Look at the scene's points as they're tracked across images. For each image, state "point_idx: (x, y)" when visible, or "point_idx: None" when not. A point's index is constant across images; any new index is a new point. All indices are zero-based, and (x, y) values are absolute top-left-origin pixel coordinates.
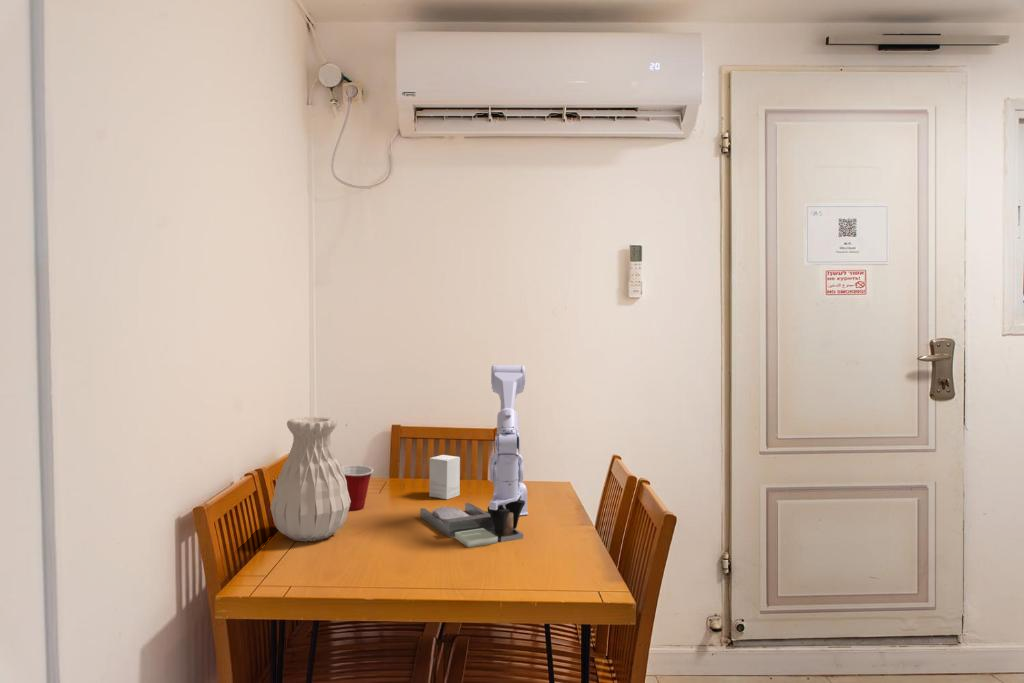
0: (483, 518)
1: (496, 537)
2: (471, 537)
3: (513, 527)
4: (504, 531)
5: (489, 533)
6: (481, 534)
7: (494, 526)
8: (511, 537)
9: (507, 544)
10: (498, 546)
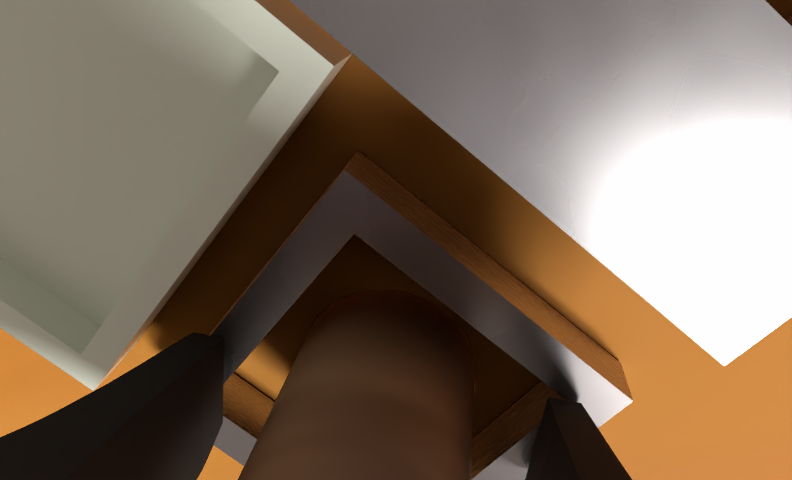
0: (368, 61)
1: (80, 377)
2: (4, 11)
3: (530, 470)
4: (198, 464)
5: (150, 256)
6: (203, 93)
7: (118, 382)
8: None
9: None
10: (46, 385)
